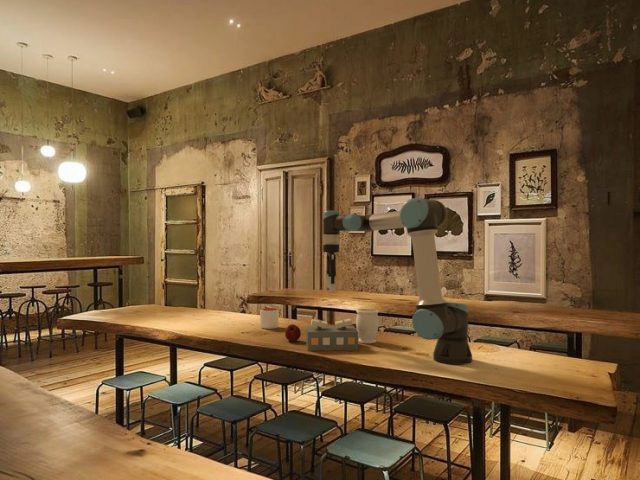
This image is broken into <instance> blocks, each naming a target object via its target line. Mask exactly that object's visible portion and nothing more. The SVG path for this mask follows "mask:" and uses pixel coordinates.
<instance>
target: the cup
mask: <svg viewBox="0 0 640 480" xmlns="http://www.w3.org/2000/svg"><path fill="white" fill-rule="evenodd" d="M259 312H260V314H259V316H260V317H259V321H260V323H259V327H260V328H261V329H265V330H272V329H277V328H278V327H279V324H280V323H279V320H280V319H279V317H280V315H279V313H280V312H279V308H276V307H275V308H273V307H269V308H268V307H266V308H261V309H259Z"/></svg>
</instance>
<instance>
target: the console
mask: <svg viewBox="0 0 640 480" xmlns="http://www.w3.org/2000/svg"><path fill="white" fill-rule="evenodd" d="M305 328H306V329H305V343H306V344H305V345H306V349H307V351H358V350H359V341H358V340H359V336H358V331H357V327H355V326H354V325H349V326H344V327H340V328H337V327H336V325H327V328H323V327H319V326H314V325H311V326H310V325H309V326H308V325H307V326H305Z"/></svg>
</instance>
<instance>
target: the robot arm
mask: <svg viewBox="0 0 640 480" xmlns="http://www.w3.org/2000/svg"><path fill="white" fill-rule="evenodd" d="M447 219H448V209H447V207H446V206H445V204H444V203H443V202H441V201H439V200H437V199H428V198H422V197H415V198H410V199H408V200H406V201H405V202H404V203H403V205H402V206H401V207H400V210H397V211H396V210H395V211H389V212H382V213H374V214H367V215H365V214H364V215H362V214H356V213H349V214H347V213H346V214H340V211H339V210H325V211H324V212H323V219H322V223H323V224H322V227H323V232H322V233H323V234H322V243H323V245H322V246H323V247H322V250H323V253H327V254H326V271H325V272H326V289H329V290H328V291H329V292H336V285H337V284H336V282H337V281H336V279H337V278H336V276H337V268H336V267H337V265H336V263H337V261H336V259H337V258H336V257H337V256H336V254H335V253H340V244H339V243H340V239H341V236H340V232H367V233H371V232H375V231H380V230H381V231H383V230H391V229H393V230H394V229H402V228H406V233H407V236H409V237H410V238H411V241H412V250H413V257H414V267H415V274H416V281H417V291H418V299H419V300H418V301H417V302H416V303H415V307H416V311H415V312H414V313H413V314H414V315H412V318H411V325H412V327H413V330H414V332H415V333H416V334H417V335H418V336H419V337H420V338H422V339H424V340H427V341H429V340H431V341H432V340H437V341H436V344H435V347H434V350H433V355H432V359H433V361H436V362H438V363H442V364H447V365H468V364H471V363H472V362H473V353H472V351H471V348H470V344H469V340H468V336H469V335H468V334H469V333H468V331H469V319H468V318H469V310H468V309H469V308H468V305H467V304H465V303H461V302H460V303H457V302H448V301H447V300H446V299H444V298H443V294H442V285H441V278H440V269H439V261H438V256H437V255H438V254H437V245H436V239H435V238H436V237H435V235H436V234H437V232H438V231H439V228H440V227H441V226H443V225H444V224H445V223H446V221H447Z"/></svg>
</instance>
